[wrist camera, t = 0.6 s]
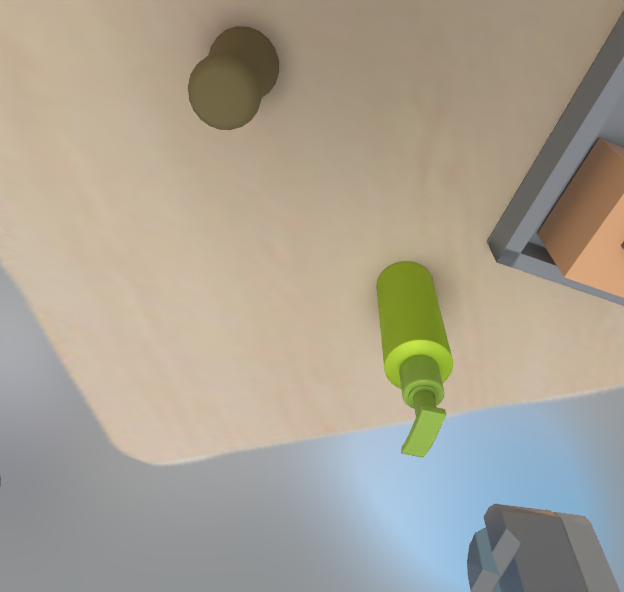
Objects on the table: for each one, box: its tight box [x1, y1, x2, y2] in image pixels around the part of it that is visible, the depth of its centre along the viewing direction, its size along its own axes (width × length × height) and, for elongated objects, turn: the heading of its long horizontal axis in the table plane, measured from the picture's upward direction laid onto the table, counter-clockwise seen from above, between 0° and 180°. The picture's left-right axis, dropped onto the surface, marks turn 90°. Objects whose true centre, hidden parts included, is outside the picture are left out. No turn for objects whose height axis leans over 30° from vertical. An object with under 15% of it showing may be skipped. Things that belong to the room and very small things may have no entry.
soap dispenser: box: [377, 262, 453, 457], centre depth 52 cm, size 6×7×20 cm
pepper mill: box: [188, 27, 279, 130], centre depth 44 cm, size 6×6×11 cm
